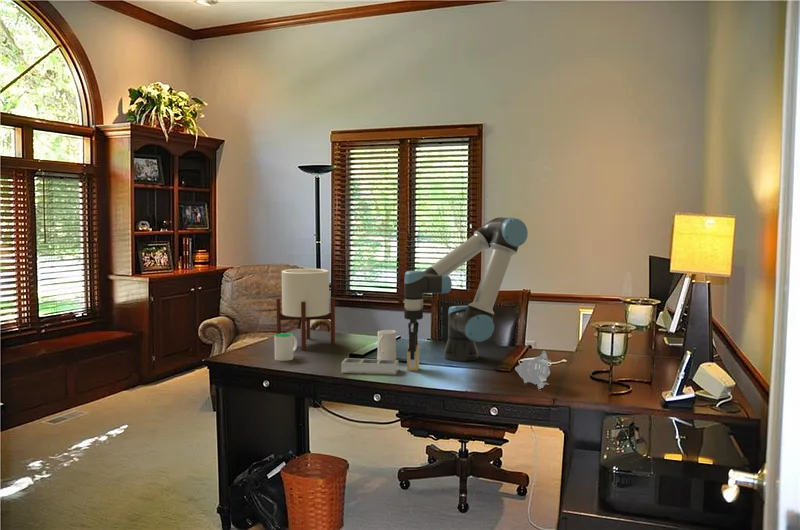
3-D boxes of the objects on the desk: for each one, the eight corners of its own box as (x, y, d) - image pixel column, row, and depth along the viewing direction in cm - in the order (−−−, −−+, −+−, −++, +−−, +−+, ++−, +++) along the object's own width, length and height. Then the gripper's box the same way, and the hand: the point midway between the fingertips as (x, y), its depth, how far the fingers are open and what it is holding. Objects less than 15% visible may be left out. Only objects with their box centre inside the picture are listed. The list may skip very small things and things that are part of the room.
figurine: (508, 386, 233) (537, 386, 223) (513, 347, 238) (541, 345, 228) (526, 393, 239) (555, 393, 228) (531, 355, 244) (559, 353, 233)
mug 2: (386, 363, 267) (386, 335, 266) (369, 360, 272) (369, 333, 271) (400, 357, 277) (400, 330, 276) (383, 355, 282) (383, 328, 281)
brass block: (419, 368, 259) (419, 344, 258) (418, 371, 255) (418, 346, 254) (408, 367, 260) (408, 344, 259) (407, 370, 255) (407, 346, 254)
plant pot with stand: (338, 343, 305) (338, 270, 302) (303, 351, 288) (302, 274, 285) (308, 337, 320) (308, 267, 317) (272, 344, 303) (271, 270, 300)
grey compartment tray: (398, 369, 257) (398, 359, 256) (395, 374, 249) (395, 364, 249) (345, 367, 259) (345, 358, 259) (341, 372, 251) (341, 362, 251)
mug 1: (288, 353, 284) (288, 331, 283) (302, 355, 280) (302, 332, 279) (270, 359, 273) (270, 335, 272) (285, 361, 269) (285, 337, 268)
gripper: (406, 305, 264) (406, 360, 266) (401, 312, 247) (401, 370, 249) (424, 305, 263) (424, 360, 265) (421, 312, 246) (420, 371, 248)
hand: (413, 365), depth 257 cm, fingers closed on brass block, 4 cm apart
